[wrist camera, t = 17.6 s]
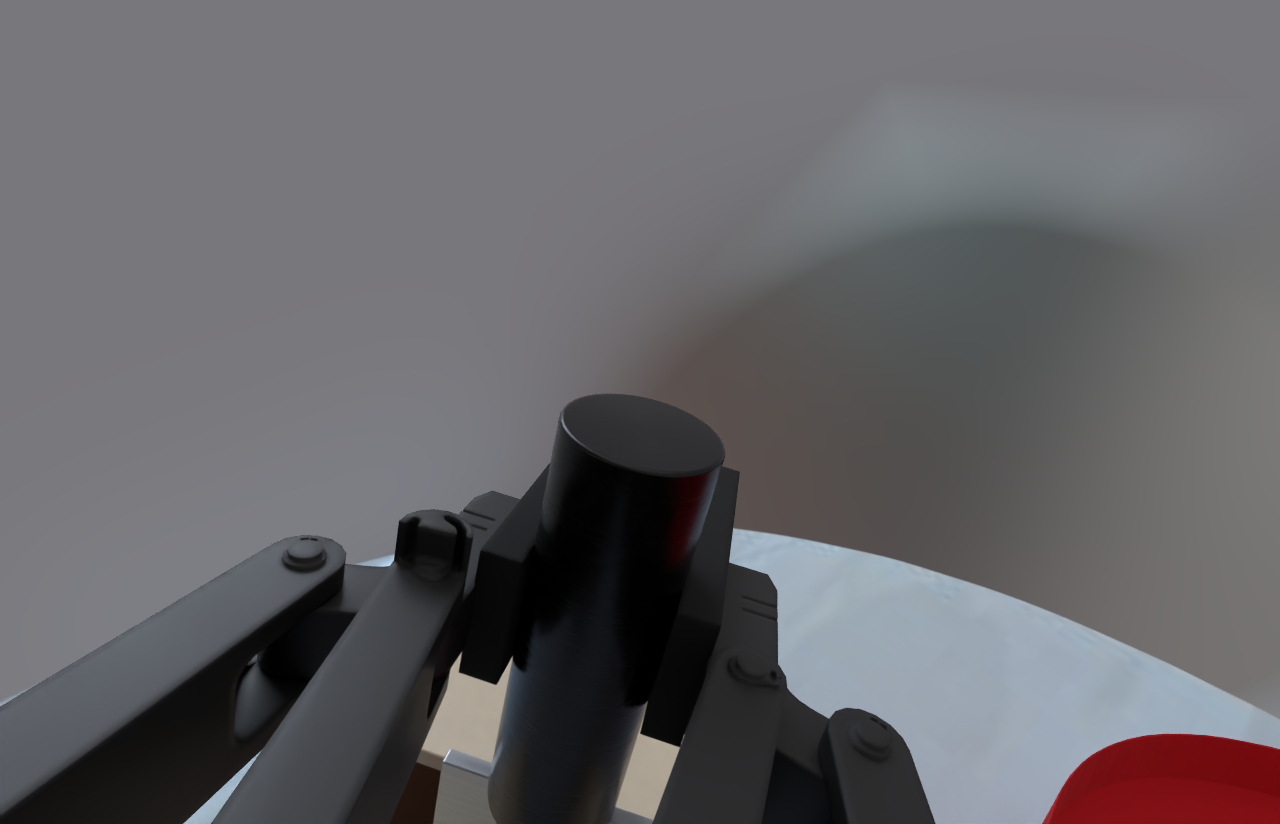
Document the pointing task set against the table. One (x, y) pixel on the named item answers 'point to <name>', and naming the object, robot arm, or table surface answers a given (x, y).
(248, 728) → the robot arm
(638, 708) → the knife
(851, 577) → the table surface
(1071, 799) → the bowl
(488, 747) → the cake
